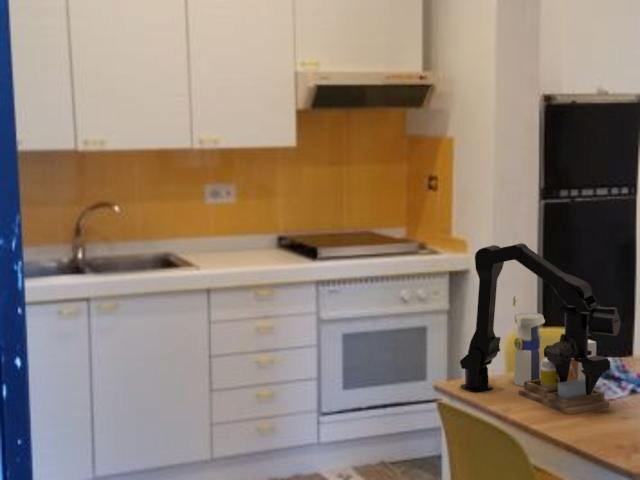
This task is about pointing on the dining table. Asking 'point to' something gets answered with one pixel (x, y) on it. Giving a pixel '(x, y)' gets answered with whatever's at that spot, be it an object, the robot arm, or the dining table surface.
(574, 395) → the blue-gray rectangular block
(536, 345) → the water bottle
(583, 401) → the jig
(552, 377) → the supplement bottle
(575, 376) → the small box
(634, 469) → the dining table surface
